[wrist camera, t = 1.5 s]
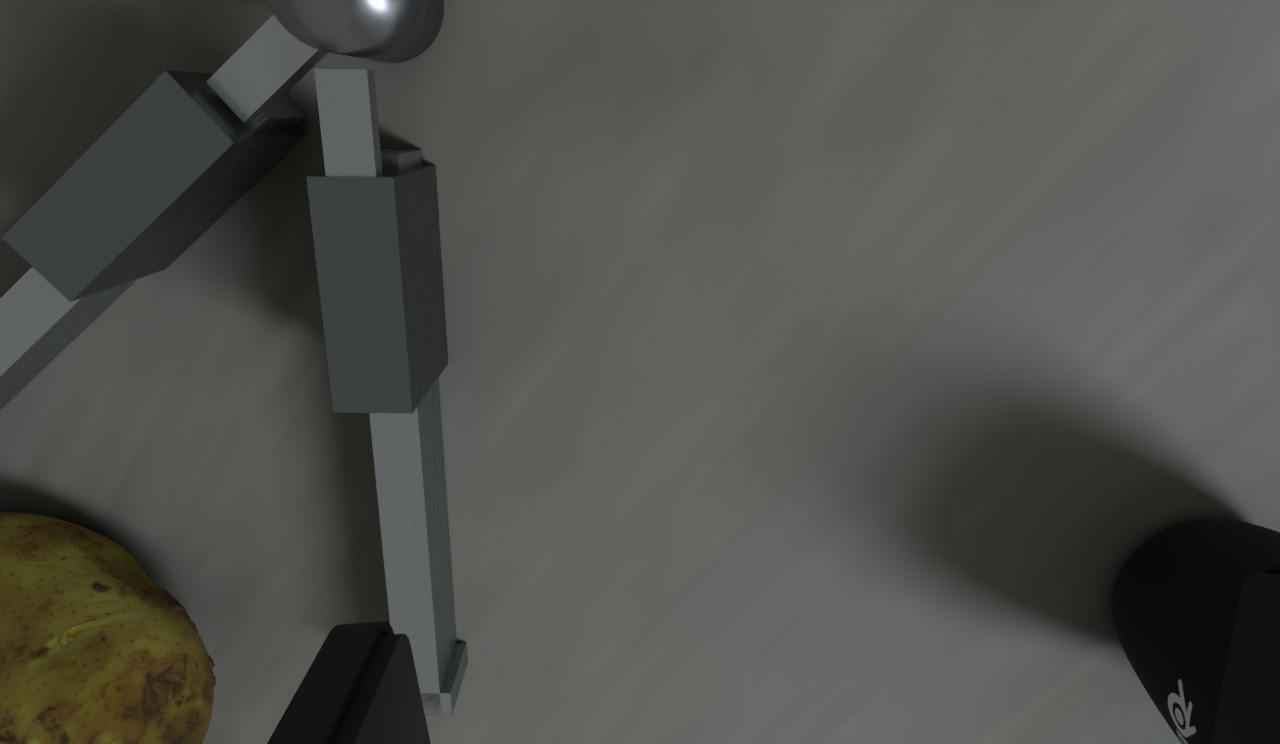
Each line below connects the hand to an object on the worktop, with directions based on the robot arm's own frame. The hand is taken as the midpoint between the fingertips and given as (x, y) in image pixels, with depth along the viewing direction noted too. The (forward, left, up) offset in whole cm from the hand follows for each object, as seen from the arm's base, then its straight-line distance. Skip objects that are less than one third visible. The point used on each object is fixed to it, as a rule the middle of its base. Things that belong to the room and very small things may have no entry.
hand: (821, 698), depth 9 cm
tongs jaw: (-9, +6, -20) cm, 23 cm away
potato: (-22, +13, -21) cm, 33 cm away
